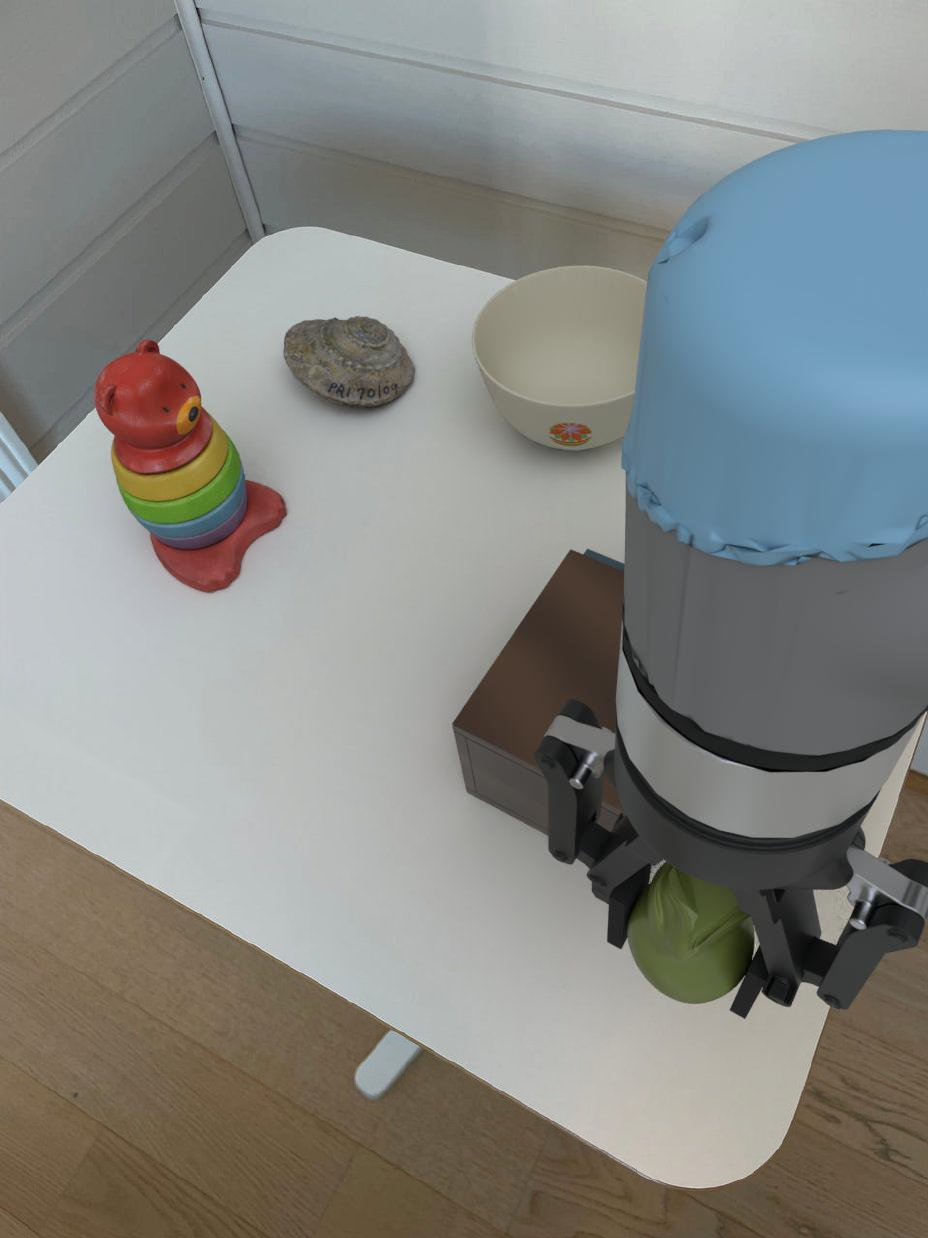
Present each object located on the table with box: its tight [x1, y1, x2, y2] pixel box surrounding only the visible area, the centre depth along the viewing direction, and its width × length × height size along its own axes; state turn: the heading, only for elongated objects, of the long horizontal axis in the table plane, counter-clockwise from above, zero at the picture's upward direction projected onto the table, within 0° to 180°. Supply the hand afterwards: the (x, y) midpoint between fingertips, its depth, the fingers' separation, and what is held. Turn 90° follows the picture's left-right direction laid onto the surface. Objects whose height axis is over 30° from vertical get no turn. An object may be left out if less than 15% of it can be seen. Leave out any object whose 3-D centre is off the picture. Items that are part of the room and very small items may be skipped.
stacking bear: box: [93, 339, 288, 593], centre depth 75 cm, size 11×10×18 cm
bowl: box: [471, 265, 647, 452], centre depth 81 cm, size 16×16×10 cm
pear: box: [627, 861, 755, 1005], centre depth 43 cm, size 6×5×10 cm
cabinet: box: [451, 549, 626, 836], centre depth 65 cm, size 15×13×10 cm
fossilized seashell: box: [282, 315, 416, 408], centre depth 90 cm, size 11×10×7 cm
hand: (686, 953), depth 47 cm, fingers closed on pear, 5 cm apart
